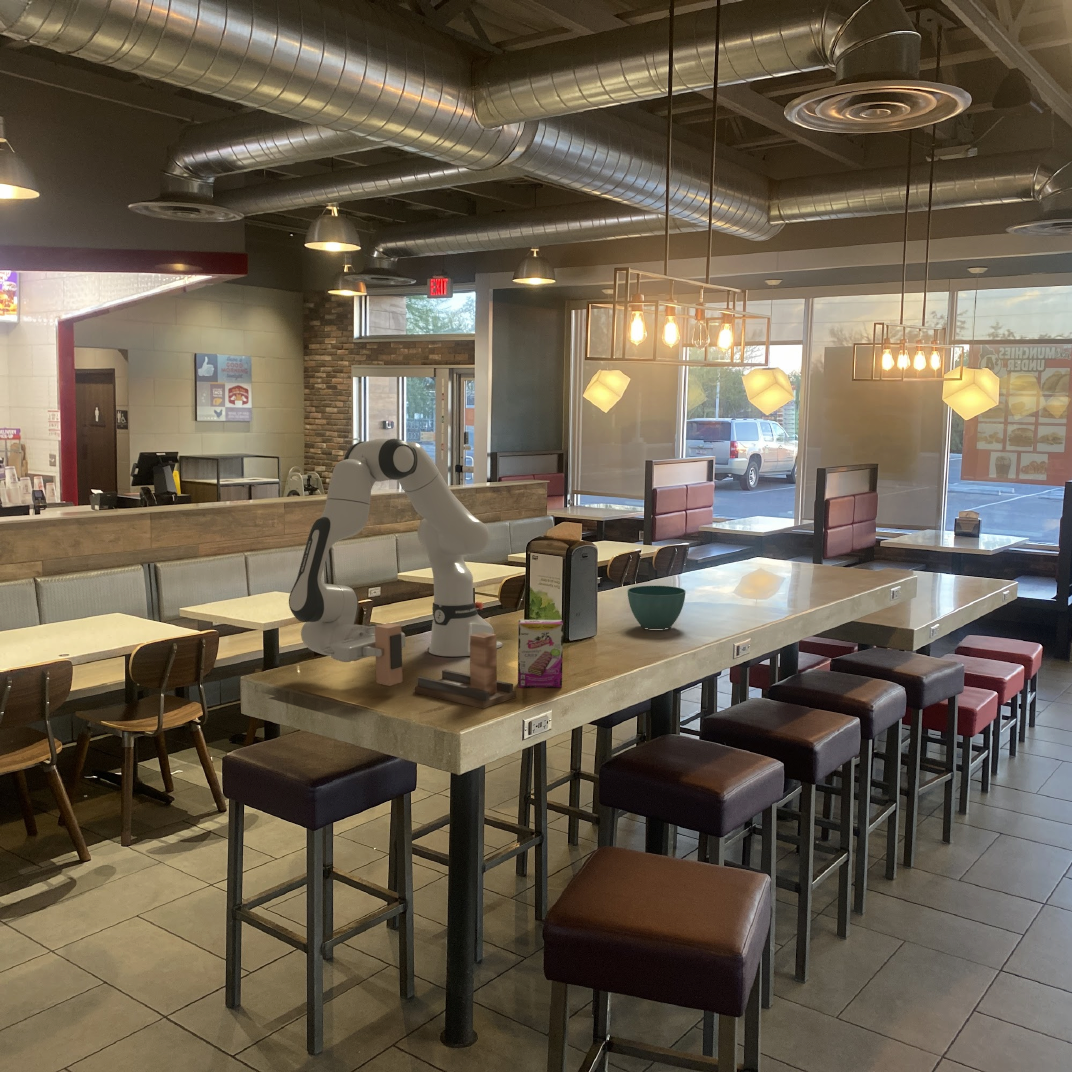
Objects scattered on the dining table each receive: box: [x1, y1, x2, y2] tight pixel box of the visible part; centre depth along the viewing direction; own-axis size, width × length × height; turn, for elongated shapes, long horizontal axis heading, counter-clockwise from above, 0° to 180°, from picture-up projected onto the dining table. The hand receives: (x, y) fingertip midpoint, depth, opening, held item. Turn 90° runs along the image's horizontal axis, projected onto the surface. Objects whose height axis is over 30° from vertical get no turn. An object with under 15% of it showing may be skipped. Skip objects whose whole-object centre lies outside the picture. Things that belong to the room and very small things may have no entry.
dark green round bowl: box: [627, 585, 686, 629], centre depth 322 cm, size 18×18×12 cm
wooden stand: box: [414, 632, 517, 709], centre depth 244 cm, size 12×22×16 cm, turn 52°
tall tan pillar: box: [375, 622, 404, 686], centre depth 244 cm, size 4×5×14 cm
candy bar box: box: [517, 619, 564, 688], centre depth 252 cm, size 11×5×16 cm, turn 92°
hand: (391, 650), depth 244 cm, fingers closed on tall tan pillar, 4 cm apart
